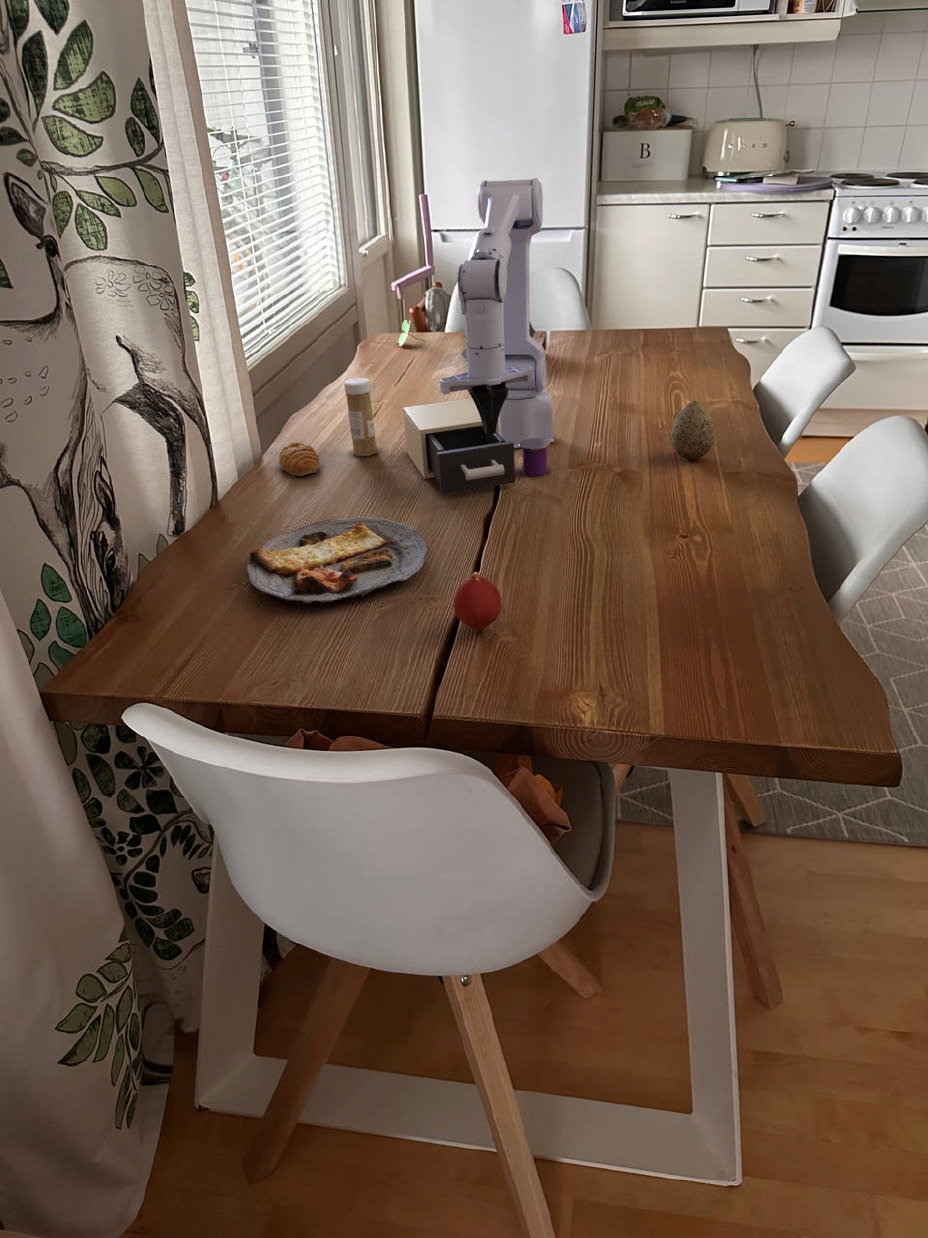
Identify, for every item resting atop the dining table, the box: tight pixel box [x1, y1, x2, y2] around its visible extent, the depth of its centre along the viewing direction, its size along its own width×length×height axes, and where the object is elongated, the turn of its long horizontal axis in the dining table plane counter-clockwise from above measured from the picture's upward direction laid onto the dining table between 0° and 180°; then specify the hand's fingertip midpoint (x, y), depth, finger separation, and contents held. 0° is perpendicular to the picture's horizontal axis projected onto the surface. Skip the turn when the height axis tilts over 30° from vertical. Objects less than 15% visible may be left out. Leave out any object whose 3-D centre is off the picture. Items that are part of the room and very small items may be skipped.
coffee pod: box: [519, 438, 551, 477], centre depth 156 cm, size 5×5×5 cm
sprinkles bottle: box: [343, 377, 378, 457], centre depth 168 cm, size 5×5×14 cm
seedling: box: [398, 319, 426, 347], centre depth 241 cm, size 7×8×6 cm
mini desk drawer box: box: [402, 397, 500, 479], centre depth 163 cm, size 14×14×9 cm
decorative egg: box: [670, 400, 716, 460], centre depth 156 cm, size 7×7×10 cm
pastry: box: [278, 442, 320, 477], centre depth 164 cm, size 9×7×4 cm
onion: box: [452, 571, 503, 632], centre depth 111 cm, size 6×6×8 cm
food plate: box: [245, 516, 428, 606], centre depth 129 cm, size 25×23×4 cm
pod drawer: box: [425, 426, 516, 495], centre depth 152 cm, size 17×12×7 cm
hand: (489, 432), depth 145 cm, fingers closed
